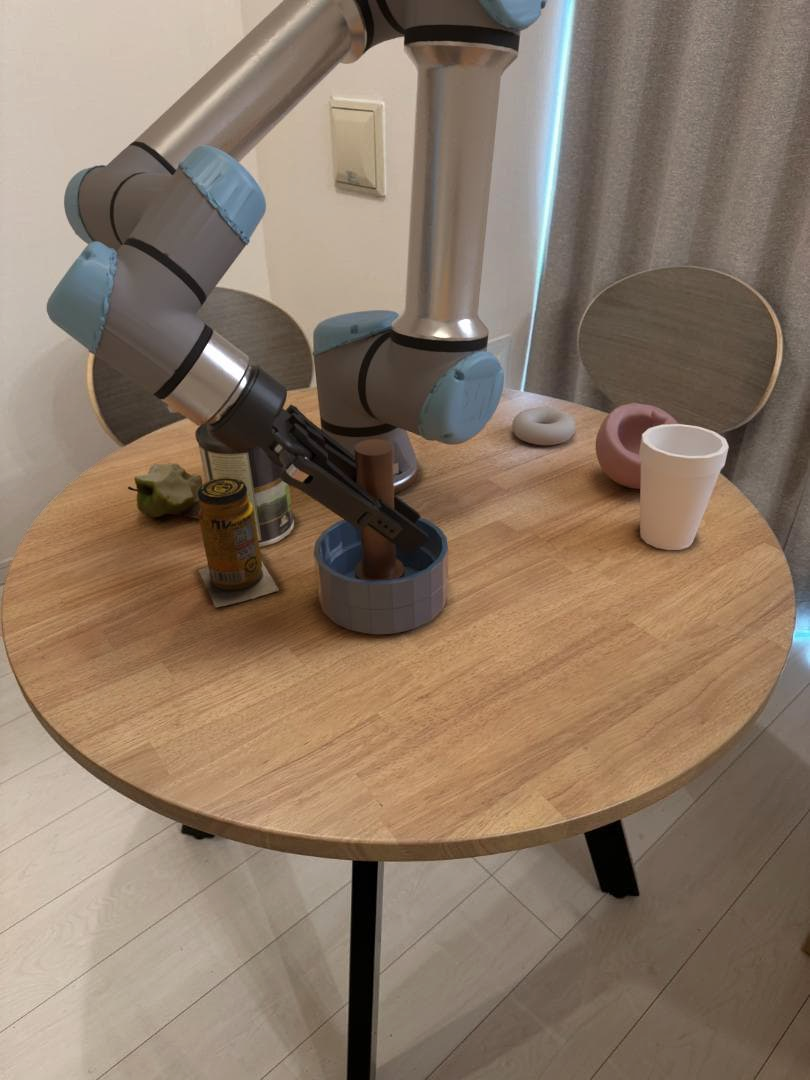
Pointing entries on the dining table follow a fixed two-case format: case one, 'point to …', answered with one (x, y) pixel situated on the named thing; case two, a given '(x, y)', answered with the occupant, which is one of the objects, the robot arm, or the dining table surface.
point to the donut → (543, 426)
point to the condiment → (231, 544)
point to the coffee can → (251, 484)
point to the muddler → (379, 483)
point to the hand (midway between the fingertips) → (414, 533)
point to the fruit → (168, 491)
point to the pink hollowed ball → (626, 440)
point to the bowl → (380, 582)
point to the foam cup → (677, 482)
